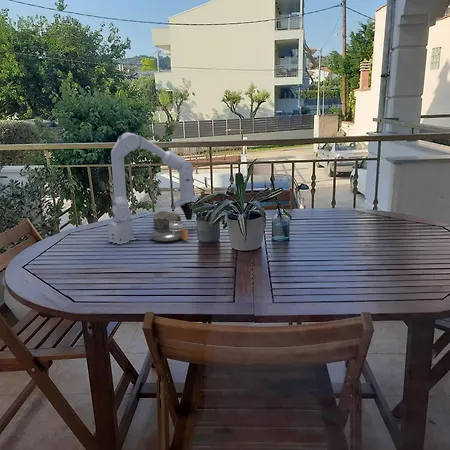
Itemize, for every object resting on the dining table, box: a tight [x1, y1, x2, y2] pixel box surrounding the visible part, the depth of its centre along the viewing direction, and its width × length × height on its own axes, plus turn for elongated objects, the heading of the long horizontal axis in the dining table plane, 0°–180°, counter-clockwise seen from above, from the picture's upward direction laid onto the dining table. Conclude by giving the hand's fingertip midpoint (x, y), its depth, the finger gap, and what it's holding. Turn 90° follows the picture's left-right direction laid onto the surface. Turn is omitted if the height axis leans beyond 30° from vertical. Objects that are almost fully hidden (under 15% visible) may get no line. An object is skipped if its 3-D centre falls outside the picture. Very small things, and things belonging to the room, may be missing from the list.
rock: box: [152, 210, 182, 230], centre depth 184 cm, size 13×6×15 cm
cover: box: [169, 220, 184, 232], centre depth 169 cm, size 6×6×3 cm
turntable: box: [150, 227, 190, 242], centre depth 165 cm, size 15×18×4 cm
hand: (188, 219), depth 175 cm, fingers closed
